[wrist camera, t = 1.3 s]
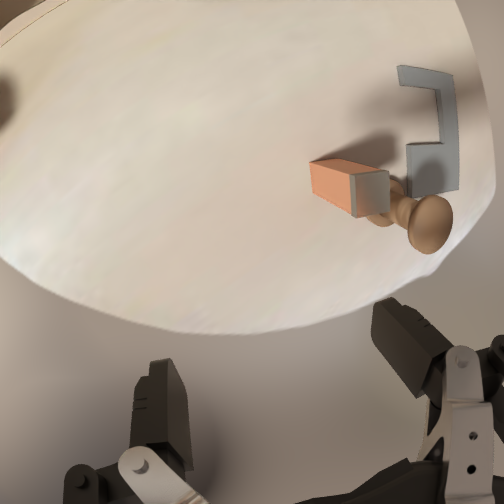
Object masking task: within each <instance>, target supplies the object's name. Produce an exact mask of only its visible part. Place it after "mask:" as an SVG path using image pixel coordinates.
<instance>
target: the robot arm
mask: <svg viewBox="0 0 504 504" xmlns="http://www.w3.org/2000/svg"><path fill="white" fill-rule="evenodd" d="M371 337H372V340H373V343H374V345H375V346H376V347H377V349H378V350H379V351H380V352H381V353H382V355H383V356H384V357H385V359H386V360H387V361H388V363H389V364H390V365H391V366H392V368H393V369H394V370H395V372H396V373H397V374H398V375H399V377H400V378H401V379H402V381H403V382H404V383H405V384H406V386H407V387H408V389H409V390H410V391H411V393H412V394H413V395H414V396H415V398H416V399H417V398H419V397H421V396H422V395H424V394H426V395H427V396H428V400H427V405H426V417H425V427H424V435H423V442H422V445H421V447H420V450H419V453H418V456H417V460H416V462H411V463H410V462H409V461H408V459H407V458H405V459H403V460H401V461H399V462H398V463H396V464H394V465H392V466H390V467H388V468H386V469H384V470H382V471H380V472H378V473H377V474H376V475H374V476H373V477H372V478H370V479H369V480H368V481H366V482H365V483H364V484H362V485H361V486H360V487H358V488H357V489H355V490H354V491H352V492H350V493H347V494H341V495H334V496H327V497H319V498H312V499H309V500H306V501H302V502H299V503H295V504H504V477H500V476H495V475H493V461H494V430H495V431H496V433H497V434H498V436H499V437H500V439H501V440H502V442H503V443H504V387H503V385H502V383H503V381H504V335H498V336H496V337H495V338H494V339H493V341H492V344H491V346H490V347H489V348H485V349H482V350H478V351H474V350H473V349H471V348H469V347H467V346H461V345H460V346H454V345H452V343H451V342H450V341H448V340H447V339H446V338H445V337H444V336H443V335H442V334H441V333H440V332H439V331H438V330H437V329H436V328H435V327H434V326H433V325H431V324H430V323H429V321H428V320H427V319H424V317H423V316H422V315H421V314H420V313H419V312H418V311H417V310H415V309H413V308H411V307H409V306H407V305H403V306H402V305H401V304H400V303H399V302H398V301H397V300H396V299H394V298H392V297H390V298H387V299H384V300H382V301H379V302H376V303H375V304H374V306H373V316H372V325H371ZM192 470H194V467H193V458H192V449H191V439H190V428H189V414H188V400H187V393H186V389H185V386H184V384H183V382H182V380H181V378H180V376H179V374H178V372H177V370H176V368H175V365H174V363H173V361H172V360H171V359H170V358H167V359H162V360H156V361H151V362H150V368H149V376H143V377H141V378H140V380H139V381H138V383H137V385H136V386H135V391H134V402H133V411H132V422H131V434H130V446H129V449H128V450H127V451H125V452H124V453H123V454H122V456H121V457H120V460H119V462H117V463H115V464H113V465H110V466H107V467H104V468H100V469H97V470H94V469H93V468H91V467H90V466H88V465H85V464H78V465H75V466H73V467H72V468H70V469H69V471H68V472H67V473H66V476H65V480H64V493H63V504H211V503H210V502H208V501H207V500H206V499H205V498H204V497H202V496H201V495H200V494H199V493H198V492H196V491H195V490H194V489H193V488H192V487H191V486H190V485H189V484H187V483H186V478H185V471H192Z"/></svg>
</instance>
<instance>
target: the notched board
mask: <svg viewBox="0 0 504 504" xmlns="http://www.w3.org/2000/svg"><path fill="white" fill-rule="evenodd" d="M397 71H398V77H399V83H400V86H410V87H419V88H427V89H434V90H435V91H436V99H437V108H438V119H439V133H440V143H439V144H413V145H406V153H407V197H410V198H412V199H413V198H418V197H423V196H427V195H433V194H439V193H444V192H449V191H455V190H459V131H458V116H457V105H456V96H455V88H454V81H453V75H450V74H446V73H441V72H437V71H432V70H426V69H421V68H415V67H409V66H397Z"/></svg>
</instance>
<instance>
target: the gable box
mask: <svg viewBox="0 0 504 504" xmlns="http://www.w3.org/2000/svg"><path fill="white" fill-rule="evenodd" d="M66 1H68V0H0V47H1V46H2V45H4V44H5V43H6V42H7V41H8V40H10V39H11V38H12V37H14V36H15V35H16V34H17V33H19V32H20V31H21V30H23V29H24V28H26V27H27V26H28V25H30V24H31V23H33V22H34V21H36V20H37V19H39V18H40V17H42V16H43V15H45V14H46V13H48V12H49V11H51V10H53V9H54V8H56V7H58V6H59V5H61V4H63V3H64V2H66Z"/></svg>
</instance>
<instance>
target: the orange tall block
mask: <svg viewBox="0 0 504 504" xmlns="http://www.w3.org/2000/svg"><path fill="white" fill-rule="evenodd" d="M309 163H310V172H311V181H312V190H313V193H314V194H316V195H317V196H319V197H321V198H323V199H325V200H327V201H328V202H330V203H332V204H334V205H335V206H337V207H339V208H341V209H343V210H344V211H346V212H348V213H349V214H351V215H352V216H353V217H355V218H361V217H366V216H370V215H375V214H379V213H384V212H388V211H390V177H389V171H387V170H381V169H377V168H373V167H370V166H366V165H362V164H358V163H354V162H350V161H346V160H342V159H338V158H337V159H330V160H322V161H315V162H309Z"/></svg>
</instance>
